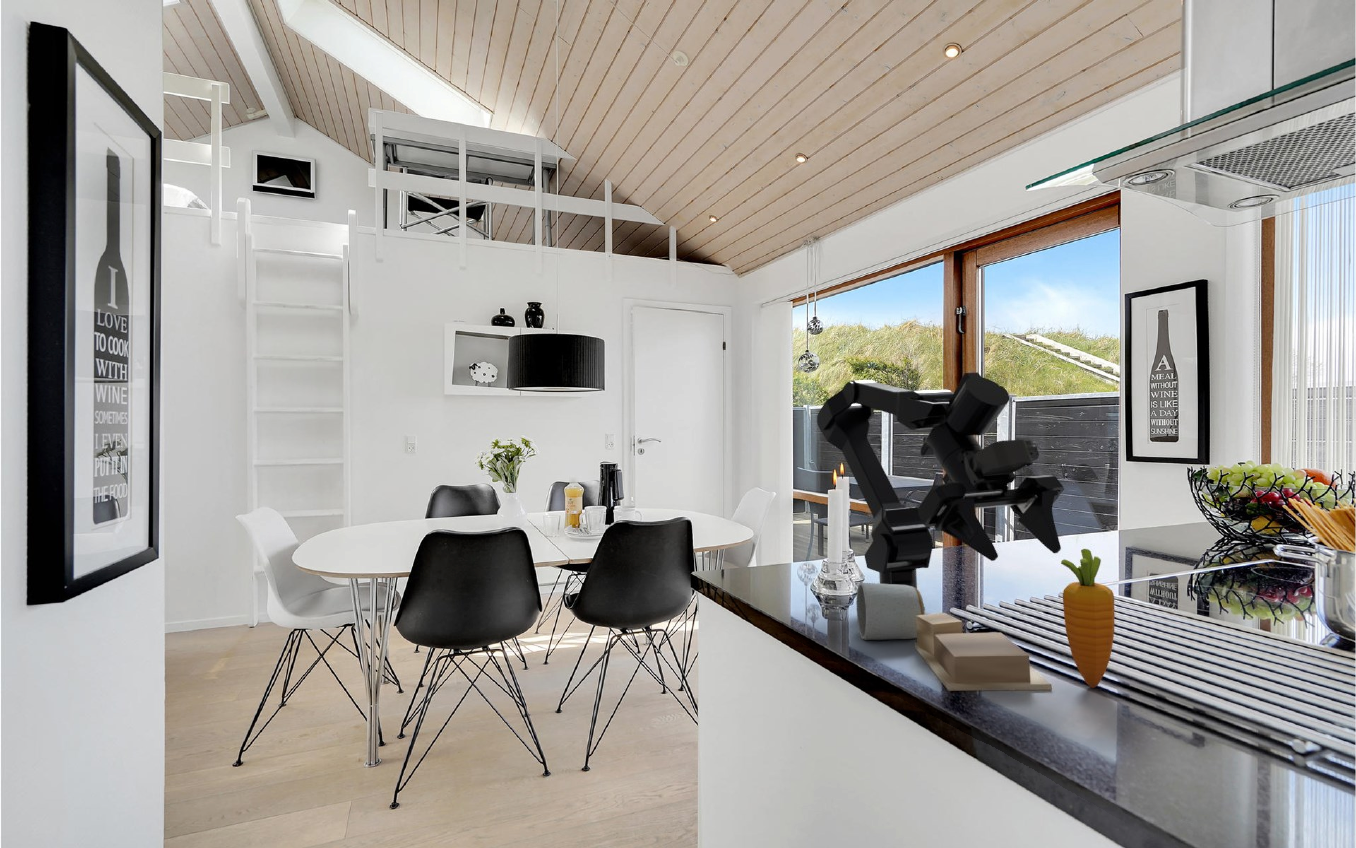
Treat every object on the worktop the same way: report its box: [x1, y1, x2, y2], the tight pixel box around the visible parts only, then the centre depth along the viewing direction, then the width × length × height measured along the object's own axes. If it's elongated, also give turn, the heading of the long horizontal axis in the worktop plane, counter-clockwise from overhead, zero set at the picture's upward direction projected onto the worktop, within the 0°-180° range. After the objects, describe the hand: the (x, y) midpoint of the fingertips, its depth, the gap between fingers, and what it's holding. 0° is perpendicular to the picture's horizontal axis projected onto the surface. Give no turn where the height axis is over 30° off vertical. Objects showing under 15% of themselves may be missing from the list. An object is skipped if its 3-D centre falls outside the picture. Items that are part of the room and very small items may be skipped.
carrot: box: [1060, 548, 1115, 689], centre depth 73 cm, size 5×5×15 cm
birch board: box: [914, 643, 1053, 692], centre depth 80 cm, size 14×11×1 cm
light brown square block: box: [934, 632, 1031, 683], centre depth 78 cm, size 8×8×3 cm
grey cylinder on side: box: [855, 582, 926, 641], centre depth 94 cm, size 11×8×8 cm
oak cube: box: [916, 612, 964, 656], centre depth 85 cm, size 4×4×4 cm
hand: (1027, 555), depth 80 cm, fingers open, 9 cm apart
